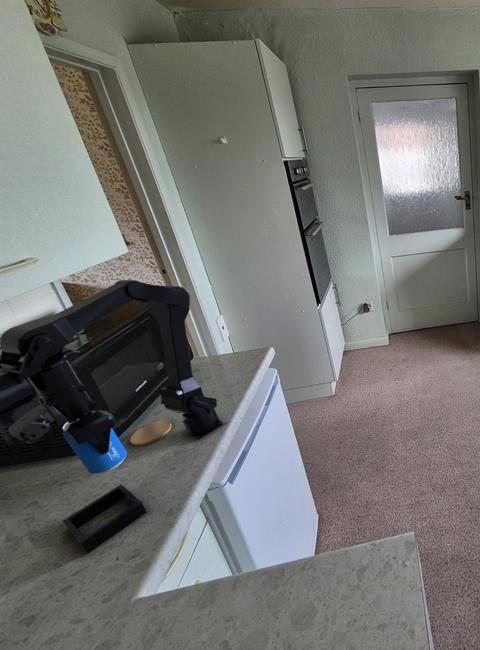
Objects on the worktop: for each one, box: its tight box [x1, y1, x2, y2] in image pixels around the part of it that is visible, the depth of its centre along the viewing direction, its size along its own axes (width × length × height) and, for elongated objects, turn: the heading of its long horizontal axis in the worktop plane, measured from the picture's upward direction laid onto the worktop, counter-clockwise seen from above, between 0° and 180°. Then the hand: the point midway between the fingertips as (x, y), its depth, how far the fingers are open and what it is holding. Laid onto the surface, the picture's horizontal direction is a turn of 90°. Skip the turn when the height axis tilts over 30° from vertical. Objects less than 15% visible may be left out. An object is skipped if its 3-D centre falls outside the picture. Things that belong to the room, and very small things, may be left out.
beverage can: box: [61, 410, 128, 475], centre depth 79 cm, size 6×6×12 cm
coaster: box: [129, 419, 173, 447], centre depth 102 cm, size 9×9×1 cm
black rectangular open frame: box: [62, 484, 148, 554], centre depth 77 cm, size 10×10×3 cm
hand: (98, 447), depth 79 cm, fingers closed on beverage can, 6 cm apart
